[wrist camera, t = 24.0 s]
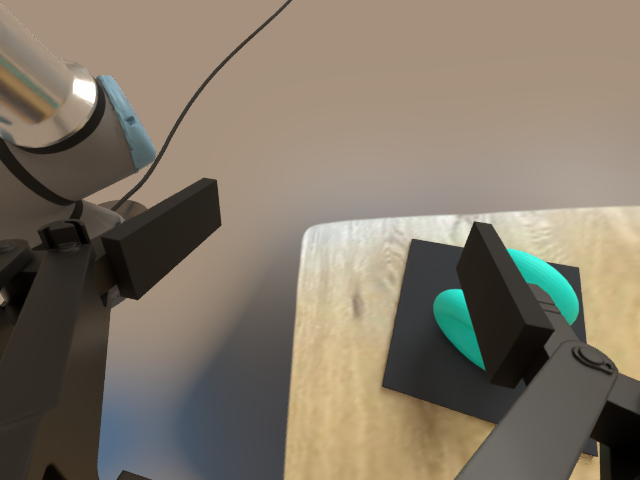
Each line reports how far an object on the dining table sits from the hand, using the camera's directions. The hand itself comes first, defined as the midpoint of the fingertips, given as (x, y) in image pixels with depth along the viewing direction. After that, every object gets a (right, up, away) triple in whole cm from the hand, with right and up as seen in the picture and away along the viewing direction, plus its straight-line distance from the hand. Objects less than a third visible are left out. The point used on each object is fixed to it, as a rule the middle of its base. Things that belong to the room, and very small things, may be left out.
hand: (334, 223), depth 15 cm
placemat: (+19, -11, +20) cm, 30 cm away
